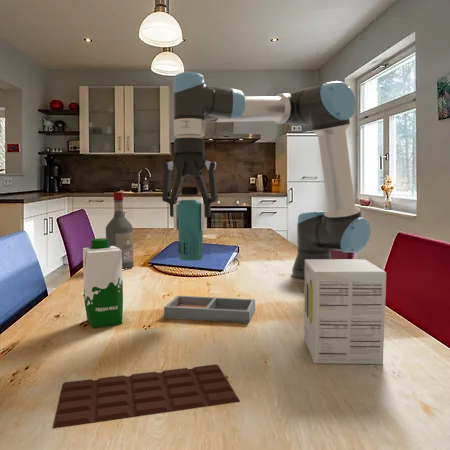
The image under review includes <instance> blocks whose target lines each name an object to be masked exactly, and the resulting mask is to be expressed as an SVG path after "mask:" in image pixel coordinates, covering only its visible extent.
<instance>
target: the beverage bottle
mask: <svg viewBox="0 0 450 450" xmlns="http://www.w3.org/2000/svg"><path fill="white" fill-rule="evenodd" d="M198 189H199V188H198V187H197V186H193V185H188V186H181V195H183V196H186V195H187V196H190V195H191V196H196V195H197V196H198V195H199V192H198ZM177 204H178V230H177V232H178V237H177V238H178V239H177V240H178V243H177V252H178V254H177V255H178V258H179V260H180V261H186V262H193V261H201V260H203V258H204V238H203V237H204V233H203V232H204V231H201V205H203V203H202V202H201V201H200V200H199V199H181V200H180V201H179V202H177Z"/></svg>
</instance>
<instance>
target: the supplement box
mask: <svg viewBox="0 0 450 450" xmlns="http://www.w3.org/2000/svg"><path fill="white" fill-rule="evenodd" d="M386 293H387V272H386V271H385V270H383V269H382V268H379V267H378V266H377V265H375V264H373V263H372V262H370V261H369V260H367V259H360V258H359V259H358V258H357V259H356V258H355V259H354V258H353V259H350V258H349V259H347V258H346V259H345V258H343V259H341V258H339V259H337V258H335V259H334V258H333V259H305V279H304V295H303V296H304V304H303V305H304V309H303V312H304V313H303V315H304V316H303V319H304V320H303V321H304V322H303V339H304V342H305V344H306V347H307V349H308V352H309V354H310V357H311V359H312V362H313V363H314V364H340V365H341V364H344V365H345V364H346V365H383V364H384V344H385V343H384V341H385V320H386V317H385V315H386V299H387V298H386V297H387V295H386Z"/></svg>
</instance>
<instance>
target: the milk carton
mask: <svg viewBox="0 0 450 450" xmlns="http://www.w3.org/2000/svg"><path fill="white" fill-rule="evenodd" d="M90 245H91V246H90V247H89V246H88V247H83V248H82V260H83V261H82V262H83V263H82V265H83V266H82V267H83V268H82V269H83V270H82V271H83V297H84V308H85V309H84V310H85V314H86V320H87V322H88V324H89V325H90V327H91V328H92V329H95V328H96V329H97V328H101V327H102V328H103V327H109V326H117V325H122V324H123V317H124V316H123V312H124V289H123V288H124V285H123V270H122V250H120V249H119V248H117V247H115V246H109V242H108V239H106V237H105V238H103V237H102V238H101V237H100V238H92V239H91V244H90Z"/></svg>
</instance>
